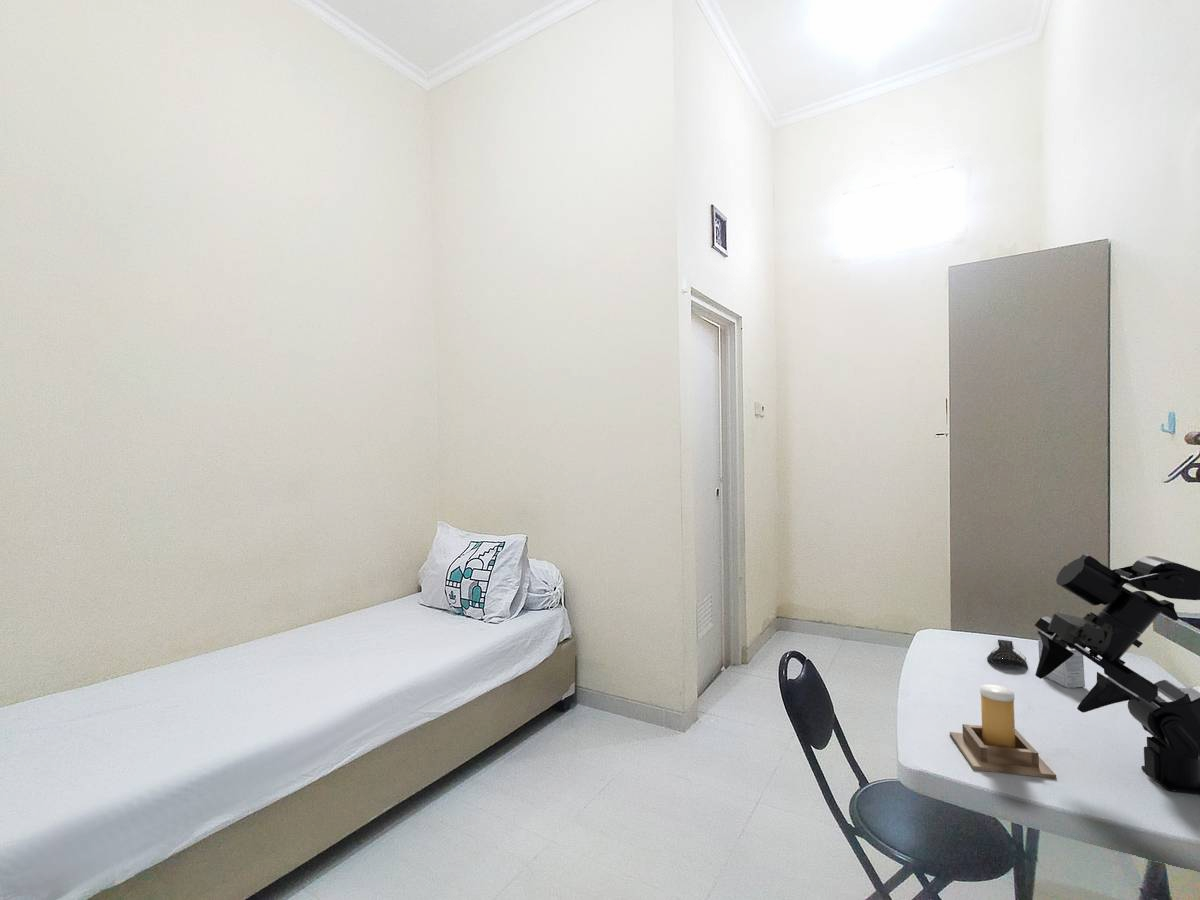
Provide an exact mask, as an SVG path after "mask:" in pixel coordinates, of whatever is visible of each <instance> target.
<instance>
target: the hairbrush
mask: <svg viewBox="0 0 1200 900" xmlns="http://www.w3.org/2000/svg"><path fill="white" fill-rule="evenodd" d="M997 643H999V645H1000V646H998V647H995V649H993V650H992V651H991V652H990V653H989V655H987V657H986V659H987V662H989V663H996V664H1002V665H1010V666H1016V667H1023V668H1028V663H1027V661H1026V660H1027V658H1026V657H1024V658H1023V653H1022V654H1021V652H1019V650H1018V652H1019V653H1018V652H1016V651H1014V649H1013V647H1012V645H1013V641H1012V640H1007V639H997ZM1020 654H1021V655H1020ZM992 657H993V658H992ZM1002 658H1003V659H1002Z"/></svg>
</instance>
